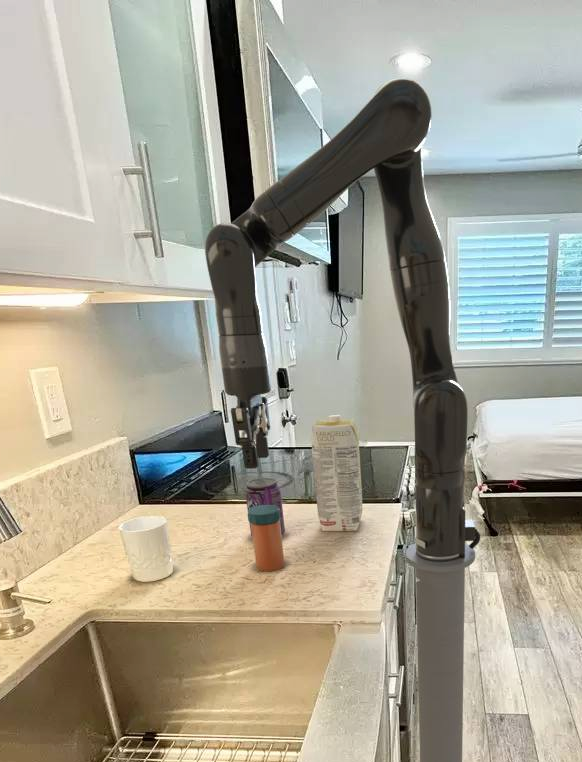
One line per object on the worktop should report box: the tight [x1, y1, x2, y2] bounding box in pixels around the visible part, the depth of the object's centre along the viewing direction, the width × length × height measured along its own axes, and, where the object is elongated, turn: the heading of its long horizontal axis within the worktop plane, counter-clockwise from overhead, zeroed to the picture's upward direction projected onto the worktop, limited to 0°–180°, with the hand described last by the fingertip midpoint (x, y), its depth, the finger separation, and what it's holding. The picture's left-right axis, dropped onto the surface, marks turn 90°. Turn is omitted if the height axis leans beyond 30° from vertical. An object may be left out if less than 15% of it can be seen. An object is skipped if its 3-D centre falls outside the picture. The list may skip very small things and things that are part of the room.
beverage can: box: [244, 477, 286, 537], centre depth 119 cm, size 7×7×12 cm
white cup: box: [118, 515, 174, 583], centre depth 103 cm, size 8×8×10 cm
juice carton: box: [311, 414, 363, 532], centre depth 120 cm, size 9×8×24 cm
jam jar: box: [249, 520, 286, 572], centre depth 105 cm, size 5×5×11 cm
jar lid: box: [247, 505, 281, 525], centre depth 103 cm, size 6×6×2 cm
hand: (257, 462), depth 99 cm, fingers open, 7 cm apart
